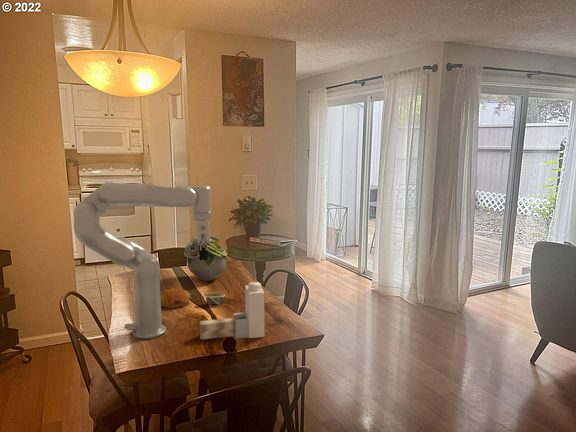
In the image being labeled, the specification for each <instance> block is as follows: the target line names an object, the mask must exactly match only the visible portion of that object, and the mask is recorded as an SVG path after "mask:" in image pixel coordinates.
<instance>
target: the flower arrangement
mask: <svg viewBox="0 0 576 432" xmlns="http://www.w3.org/2000/svg"><path fill="white" fill-rule="evenodd" d="M207 250H208V259H207V260H200V254H199V244H198V240H197V236H196V237H194V238H191V239H190V241H189V243H188V244H187V245H186V246H185V248H184V252H183V255H184V256H185V257H186V262H187V267H188V269H189V272H190V273H191V274H193V275H194V276H195V277H196V276H197V277H198V279H199V280H200V281H205V282H208V281H214V280H215V279H216V278H217V276H218V275H220V274H222V272H223V271H225V269H226V266H227V260H228V253H227V251H226V250H225V248H223V246H222V245H221V244H220V242H219V238H216V237H213V236H210V244H207Z"/></svg>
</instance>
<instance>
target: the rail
mask: <svg viewBox="0 0 576 432" xmlns="http://www.w3.org/2000/svg"><path fill="white" fill-rule="evenodd" d="M239 319H246V317H241V318H234V317H232V318H231V317H229V318H220V319H219V318H218V319H217V318H216V319H207V320H200V321H199V338H200V339H199V340H208V339H219V338H229V337H230V338H231V337H236V330H235V320H239Z"/></svg>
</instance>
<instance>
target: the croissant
mask: <svg viewBox="0 0 576 432" xmlns="http://www.w3.org/2000/svg"><path fill="white" fill-rule="evenodd" d="M160 299H161V307H164V308H166V309H177V308H182V307H184V306H188V305H189V304H190V300H191V294H190V292H188V290H185V289H183V288H181V287H173V288H168V289H164V290H162V292H160Z"/></svg>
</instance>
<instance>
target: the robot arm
mask: <svg viewBox="0 0 576 432" xmlns="http://www.w3.org/2000/svg"><path fill="white" fill-rule="evenodd" d="M191 206H192V220H193V221H195V228H196V230H195V231H196V237H197V240H198V244H199V254H200V260H207V259H208V250H207V244H210V237H211V231H210V230H211V228H210V221H211V220H212V218H213V217H212V215H213V214H212V188H211V187H210V186H209V185H195V186H193V185H190V186H189V185H177V186H175V187H173V186H171V187H170V186H160V185H155V184H151V183H123V182H122V183H120V182H113V181H107V182H104V183H102V184H100V185H99V186H98V187H97V188H96V189H95V190H94V191H92V192H91V193H90V194H89V195H88V196H86V197H85V198H83V199H82V200H80V202H78V204H77V205H76V206H75V207H74V209H73V231H74V234H75V237H76V239H77V240H78V242H80V244H82V245H83V246H85V247H87V248H88V249H90V250H92V251H93V252H95V253H96V254H98V255H99V256H102V257H104V258H105V259H106V260H109V261H110V262H112V263H113V264H114V265H118V266H125V267H127V268H129V269H131V270H132V272H133V275H134V278H133V279H134V282H133V283H134V284H133V285H134V286H133V289H134V290H133V291H134V302H135V303H134V304H135V321H133V322H132V323H130V322H129V323H124V329H125V330H126V331H132V336H133V337H134V338H137V339H139V340H141V339H142V340H146V339H147V340H148V339H154V338H157V337H160V336H162V335H164V334H165V332H166V331H167V327H166V325H164V324H162V306H161V299H160V294H161V265H160V262H159V260H157V258H156V256H155V255H153V253H151V252H149V250H147V249H145V248H143V247H142V246H140V245H138V244H136V243H135V242H133V241H132V240H130V239H128V238H127V237H123V236H116V235H115V234H112V233H111V232H110V231H108V230H106V229H105V228H103V227H102V226H101V225H100V220H101V216H102V215H103V214H104V213H105V212H106V211H107V210H109V208H111V207H151V208H152V207H154V208H155V207H164V208H188V207H191Z"/></svg>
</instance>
